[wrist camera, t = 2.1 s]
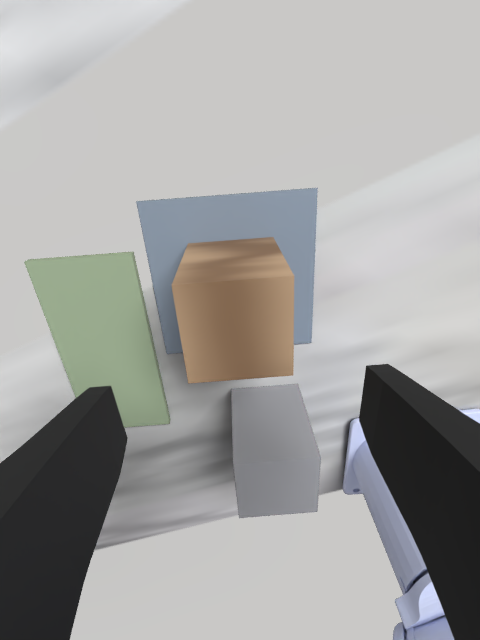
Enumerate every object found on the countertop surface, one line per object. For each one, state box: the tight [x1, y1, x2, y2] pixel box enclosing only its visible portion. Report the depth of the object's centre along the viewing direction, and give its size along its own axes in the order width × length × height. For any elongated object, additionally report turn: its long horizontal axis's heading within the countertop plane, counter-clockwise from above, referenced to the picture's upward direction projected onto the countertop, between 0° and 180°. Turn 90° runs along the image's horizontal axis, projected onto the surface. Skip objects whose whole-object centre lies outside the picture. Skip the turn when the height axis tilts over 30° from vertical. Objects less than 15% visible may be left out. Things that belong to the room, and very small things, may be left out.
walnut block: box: [171, 237, 294, 383], centre depth 16 cm, size 4×4×6 cm
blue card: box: [137, 188, 318, 354], centre depth 18 cm, size 9×9×1 cm
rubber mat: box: [24, 252, 170, 427], centre depth 20 cm, size 6×12×1 cm, turn 4°
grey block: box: [231, 384, 321, 518], centre depth 21 cm, size 4×4×6 cm
